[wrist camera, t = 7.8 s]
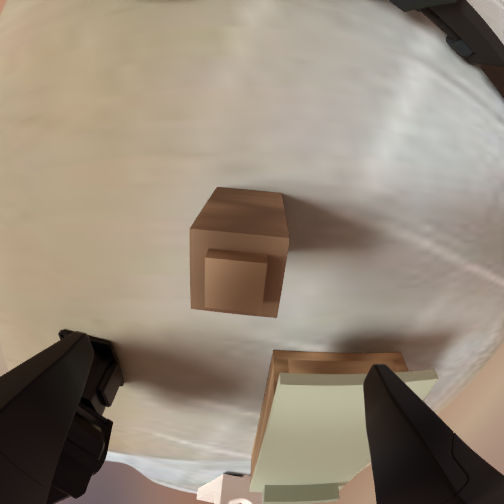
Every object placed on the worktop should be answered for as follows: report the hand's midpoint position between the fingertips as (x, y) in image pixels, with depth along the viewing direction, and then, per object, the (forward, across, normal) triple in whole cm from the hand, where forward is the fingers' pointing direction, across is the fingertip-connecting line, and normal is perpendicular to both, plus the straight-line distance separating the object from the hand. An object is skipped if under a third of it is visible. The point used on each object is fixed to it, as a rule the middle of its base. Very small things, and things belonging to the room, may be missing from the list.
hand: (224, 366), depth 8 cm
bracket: (+12, 0, +48) cm, 50 cm away
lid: (+7, -9, +20) cm, 23 cm away
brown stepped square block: (+12, 0, 0) cm, 12 cm away
